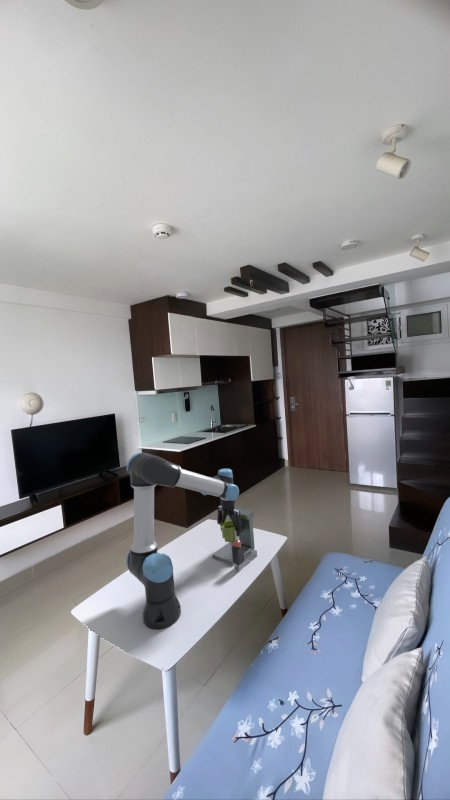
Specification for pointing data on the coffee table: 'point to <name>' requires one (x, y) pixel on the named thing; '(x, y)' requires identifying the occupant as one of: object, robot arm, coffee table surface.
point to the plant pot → (228, 531)
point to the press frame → (245, 539)
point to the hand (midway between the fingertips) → (230, 539)
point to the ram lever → (237, 552)
